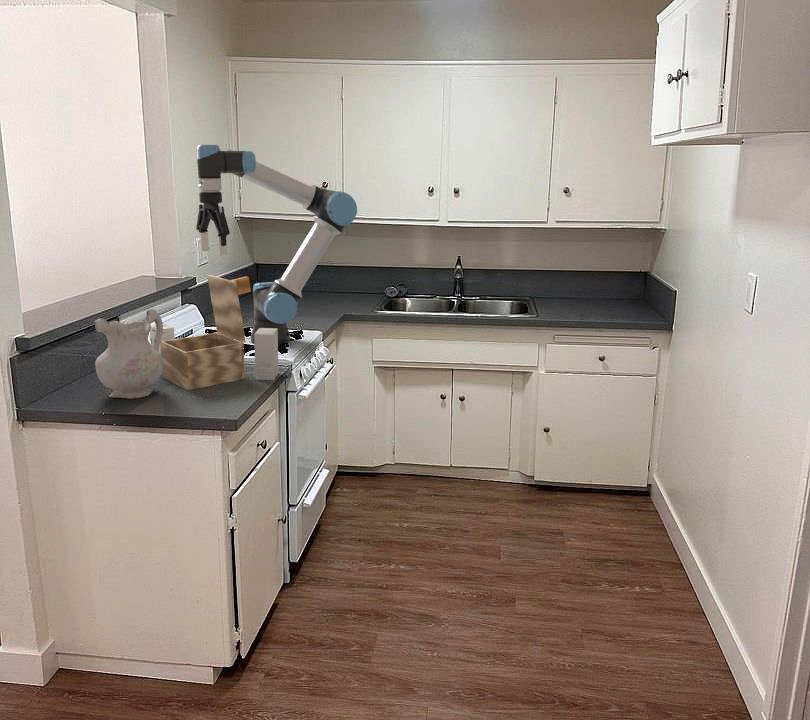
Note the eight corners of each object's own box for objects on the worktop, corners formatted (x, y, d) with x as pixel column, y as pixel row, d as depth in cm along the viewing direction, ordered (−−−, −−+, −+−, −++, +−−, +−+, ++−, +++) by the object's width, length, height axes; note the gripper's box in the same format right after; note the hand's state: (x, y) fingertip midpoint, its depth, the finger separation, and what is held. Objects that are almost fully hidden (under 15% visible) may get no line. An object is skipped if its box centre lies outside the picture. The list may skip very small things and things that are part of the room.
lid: (217, 332, 257) (242, 325, 263) (243, 342, 244) (269, 334, 250) (206, 275, 250) (233, 268, 256) (233, 282, 237) (260, 275, 243)
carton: (218, 366, 260) (216, 332, 257) (244, 378, 247) (243, 343, 244) (162, 377, 247) (160, 341, 244) (187, 390, 234) (184, 352, 231)
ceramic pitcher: (137, 382, 245) (125, 306, 239) (186, 385, 238) (175, 307, 232) (86, 402, 226) (72, 320, 220) (138, 406, 218) (125, 321, 212)
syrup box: (166, 364, 262) (163, 323, 258) (176, 368, 258) (174, 326, 254) (152, 368, 258) (148, 326, 254) (162, 371, 254) (159, 329, 250)
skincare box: (260, 372, 254) (258, 327, 249) (280, 373, 253) (278, 327, 249) (254, 380, 246) (252, 333, 241) (275, 380, 245) (273, 333, 241)
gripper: (184, 189, 267) (188, 250, 273) (217, 193, 249) (220, 257, 255) (203, 189, 272) (207, 248, 278) (238, 192, 254) (240, 256, 259)
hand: (213, 253), depth 266 cm, fingers open, 13 cm apart
